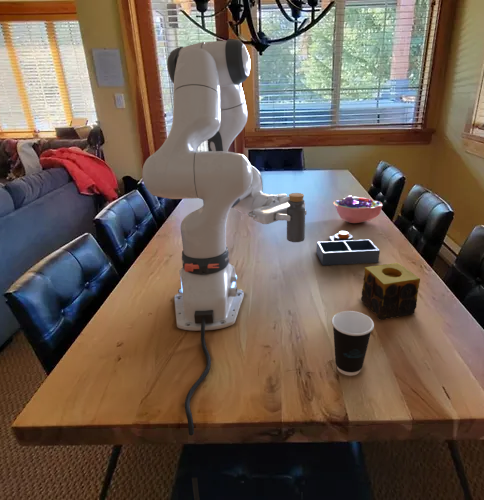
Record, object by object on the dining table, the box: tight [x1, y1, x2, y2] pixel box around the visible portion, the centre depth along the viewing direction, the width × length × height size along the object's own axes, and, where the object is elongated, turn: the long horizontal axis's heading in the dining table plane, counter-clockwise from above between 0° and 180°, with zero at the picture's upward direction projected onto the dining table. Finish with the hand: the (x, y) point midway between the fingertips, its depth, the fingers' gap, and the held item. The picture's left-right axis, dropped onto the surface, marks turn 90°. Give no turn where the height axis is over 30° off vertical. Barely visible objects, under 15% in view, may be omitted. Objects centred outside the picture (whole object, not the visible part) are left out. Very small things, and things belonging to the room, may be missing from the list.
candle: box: [360, 262, 421, 321], centre depth 94 cm, size 10×10×10 cm
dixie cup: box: [331, 310, 375, 377], centre depth 74 cm, size 8×8×11 cm
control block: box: [328, 232, 354, 241], centre depth 135 cm, size 10×8×3 cm
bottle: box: [286, 192, 306, 243], centre depth 120 cm, size 6×6×15 cm
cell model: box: [332, 195, 383, 224], centre depth 155 cm, size 17×20×11 cm
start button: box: [338, 230, 350, 238], centre depth 134 cm, size 4×4×2 cm
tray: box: [316, 238, 381, 266], centre depth 123 cm, size 10×18×4 cm, turn 95°
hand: (298, 215), depth 119 cm, fingers closed on bottle, 6 cm apart
